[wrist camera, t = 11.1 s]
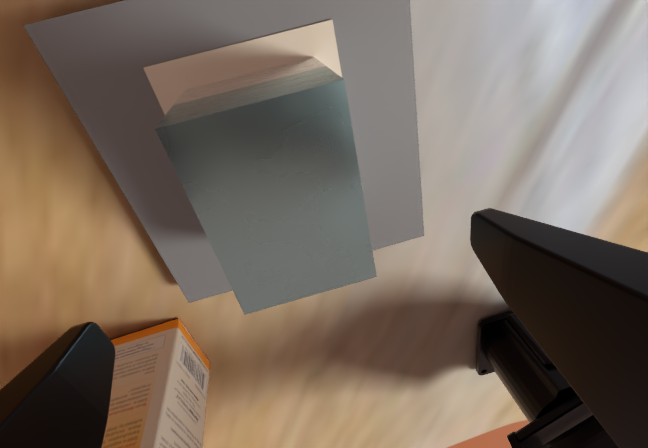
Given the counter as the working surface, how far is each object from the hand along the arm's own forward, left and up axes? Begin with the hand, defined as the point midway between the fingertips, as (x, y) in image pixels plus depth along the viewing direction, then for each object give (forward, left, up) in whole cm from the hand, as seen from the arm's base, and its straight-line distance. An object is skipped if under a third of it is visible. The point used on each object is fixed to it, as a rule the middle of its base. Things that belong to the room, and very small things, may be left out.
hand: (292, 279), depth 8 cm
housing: (0, 0, -8) cm, 8 cm away
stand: (0, 0, -10) cm, 10 cm away
